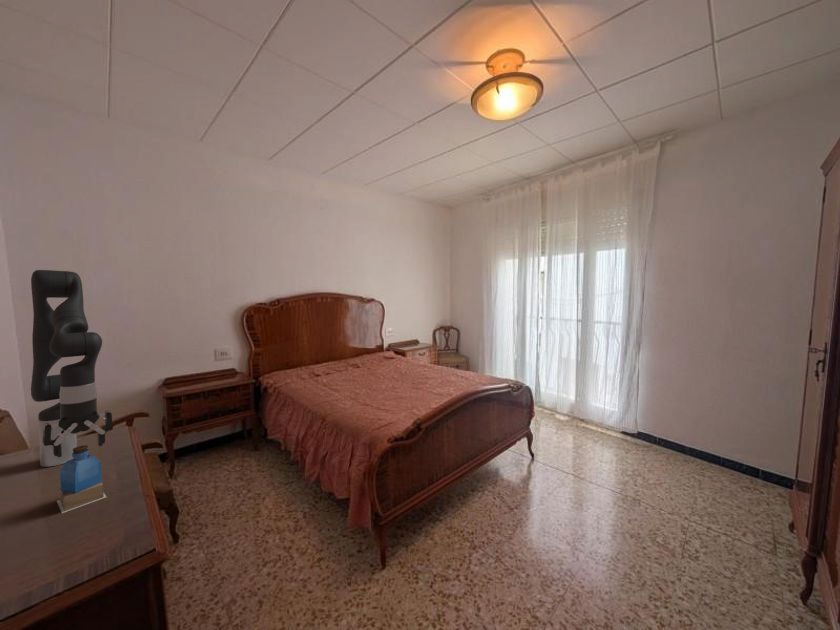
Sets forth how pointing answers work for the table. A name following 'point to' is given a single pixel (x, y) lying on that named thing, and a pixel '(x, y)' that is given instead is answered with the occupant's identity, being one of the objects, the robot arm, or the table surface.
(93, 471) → the perfume bottle
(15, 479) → the table surface
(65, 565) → the table surface
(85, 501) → the walnut block
